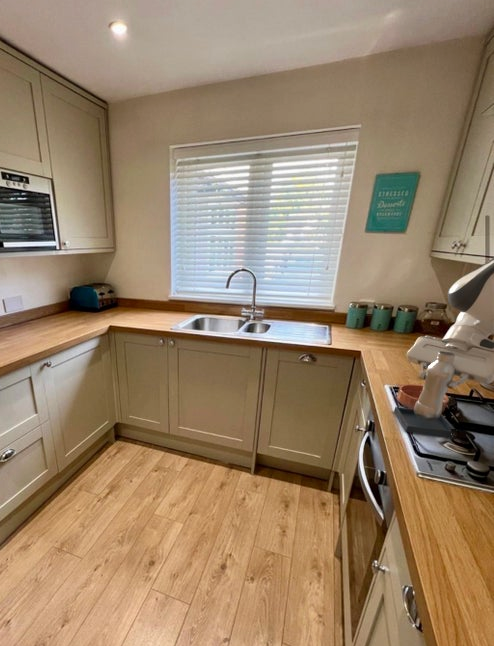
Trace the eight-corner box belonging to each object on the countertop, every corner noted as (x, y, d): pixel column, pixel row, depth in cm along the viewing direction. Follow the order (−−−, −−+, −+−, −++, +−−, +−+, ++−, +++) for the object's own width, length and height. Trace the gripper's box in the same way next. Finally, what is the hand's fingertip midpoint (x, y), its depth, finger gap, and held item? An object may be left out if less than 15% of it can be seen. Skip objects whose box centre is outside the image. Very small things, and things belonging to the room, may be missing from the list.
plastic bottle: (415, 421, 94) (436, 356, 86) (409, 410, 100) (428, 348, 92) (441, 426, 92) (466, 359, 84) (434, 414, 98) (456, 350, 90)
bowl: (434, 397, 113) (438, 386, 111) (452, 416, 101) (456, 405, 99) (391, 392, 116) (394, 382, 114) (404, 411, 104) (407, 399, 102)
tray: (438, 417, 100) (440, 412, 99) (455, 438, 90) (458, 432, 89) (393, 412, 103) (395, 406, 102) (405, 431, 93) (407, 425, 92)
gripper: (419, 328, 98) (394, 365, 97) (509, 347, 83) (481, 391, 81) (421, 339, 102) (398, 375, 101) (508, 360, 87) (481, 402, 85)
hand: (435, 383), depth 91 cm, fingers closed on plastic bottle, 6 cm apart
